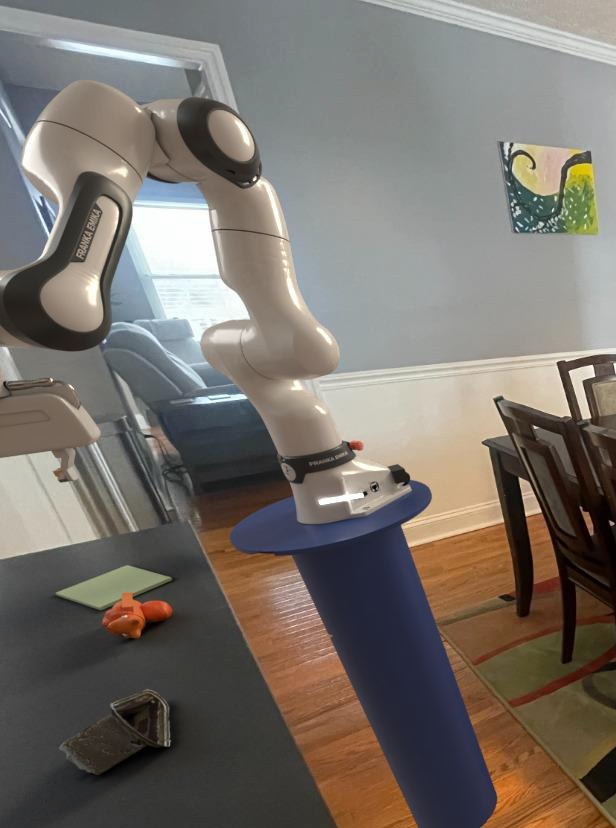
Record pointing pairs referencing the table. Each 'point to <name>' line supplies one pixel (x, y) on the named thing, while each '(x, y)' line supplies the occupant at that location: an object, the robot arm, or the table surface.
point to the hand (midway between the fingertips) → (24, 487)
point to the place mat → (113, 587)
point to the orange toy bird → (134, 616)
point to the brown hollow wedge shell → (121, 733)
